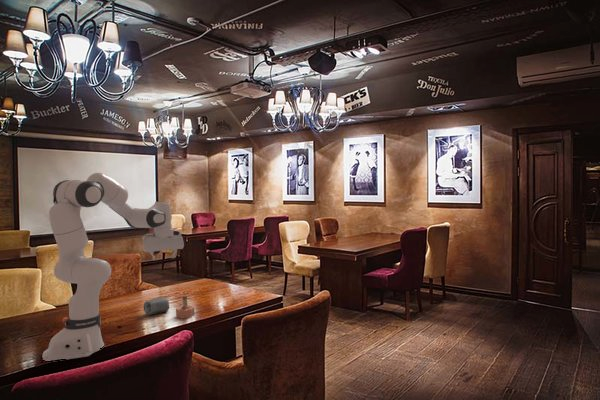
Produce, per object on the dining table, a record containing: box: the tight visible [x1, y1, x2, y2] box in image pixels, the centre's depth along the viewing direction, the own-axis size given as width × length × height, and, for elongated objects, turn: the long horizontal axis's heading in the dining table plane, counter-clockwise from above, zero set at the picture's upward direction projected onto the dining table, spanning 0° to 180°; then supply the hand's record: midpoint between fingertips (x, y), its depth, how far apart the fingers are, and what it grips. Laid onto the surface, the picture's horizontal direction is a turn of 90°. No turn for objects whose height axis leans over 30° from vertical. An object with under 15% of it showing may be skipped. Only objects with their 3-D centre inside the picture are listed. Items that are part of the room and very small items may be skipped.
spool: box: [143, 296, 170, 316], centre depth 215 cm, size 14×10×10 cm
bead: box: [175, 304, 196, 319], centre depth 211 cm, size 9×9×4 cm
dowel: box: [181, 295, 188, 309], centre depth 211 cm, size 2×2×10 cm
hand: (164, 259), depth 206 cm, fingers open, 8 cm apart
